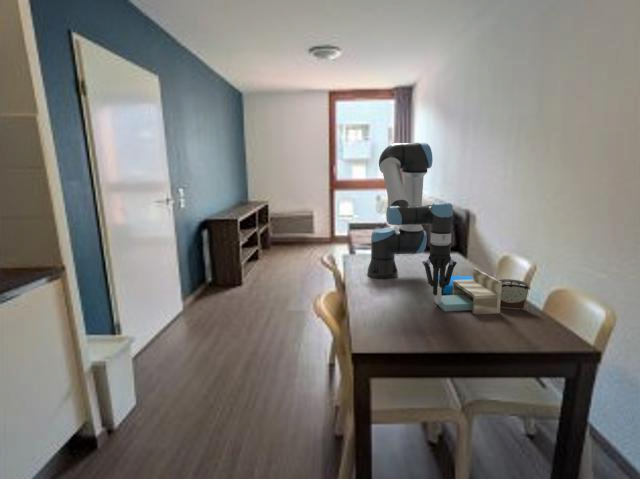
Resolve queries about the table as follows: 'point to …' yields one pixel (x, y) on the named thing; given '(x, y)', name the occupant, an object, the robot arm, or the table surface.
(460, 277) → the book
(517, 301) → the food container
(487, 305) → the shelf
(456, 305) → the teal square tile
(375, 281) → the table surface
